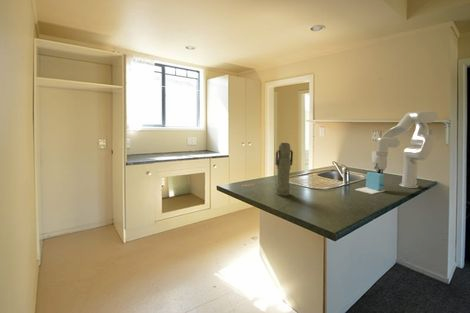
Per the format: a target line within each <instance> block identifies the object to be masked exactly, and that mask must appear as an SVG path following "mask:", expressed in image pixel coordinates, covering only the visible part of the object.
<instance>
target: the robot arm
mask: <svg viewBox="0 0 470 313" xmlns="http://www.w3.org/2000/svg"><path fill="white" fill-rule="evenodd" d="M438 118H439V113H437V111H435V110H419V111H409V112H407V113H405V114H404V116H403V117H402V118H401V120H399V122H398V123H397V125H394V126H393V127H391V128H390V129H387V130H386V131H385V132H384V133H383V135H382V136H381V137H378V138H377V141H376V153H375V159H374V164H373V169H374V170H375V172H376V173H379V174H383V175H384V171H385V170H386V169H387V166H388V155H389V153H388V152H389V148H392V149H394V148H398V147H400V145H401V144H400V143H401V140H400V139H398V138H397V137H396V136H400V135H403V134H406V133H408V131H409V130H410V129H411V127H412V126H415V129H414V131H413V133H412V137H411V138H410V144H411V146H408V147H405V148H404V149H403V165H402V166H403V169H402V175H401V176H402V177H401V178H402V179H401V182H400V183H399V184H398V185H399V186H400V187H402V188H406V189H407V188H408V189H409V188H411V189H418V188H419V185H417V183H418V181H417V179H418V169H419V162H418V161H426V160H428V159H429V157H430V155H431V152H432V150H433V148H434V145H435V143H436V141H435V137H434V136H433V135H432V134H428V132H429V126H428V124H429V123H434V122H436V121H437V120H438ZM427 123H428V124H427ZM414 124H415V125H414Z"/></svg>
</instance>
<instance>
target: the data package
mask: <svg viewBox="0 0 470 313" xmlns="http://www.w3.org/2000/svg"><path fill="white" fill-rule="evenodd" d="M365 178H366V179H365V187H367V188H370V189H373V190H377V191H379V190H384V185H385V183H384V182H385V175H384V173H383V174H379V173H377V172H376V171H370V172H369V171H368V172H367V173H366V177H365Z"/></svg>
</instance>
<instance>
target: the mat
mask: <svg viewBox="0 0 470 313" xmlns="http://www.w3.org/2000/svg"><path fill="white" fill-rule="evenodd" d="M354 191H357V192H361V193H366V194H369V195H375V194H379V193H384V192H386V190H385V189H383V190H379V191H377V190H373V189H370V188H367V187H366V186H364V187H359V188H354Z"/></svg>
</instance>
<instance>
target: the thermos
mask: <svg viewBox="0 0 470 313" xmlns="http://www.w3.org/2000/svg"><path fill="white" fill-rule="evenodd" d="M293 160H294V151H293V150H292V149H291V145H290V143H288V142H281V143H279V146H278V150H276V151H275V165H276V169H277V178H276V180H277V181H276V184H275V186H276V187H275V188H276V189H275V190H276V193H275V194H276V195H277V196H282V197H286V196H287V197H288V196H290V188H291V185H290V170H291V166H292V165H293V162H294V161H293Z"/></svg>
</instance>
